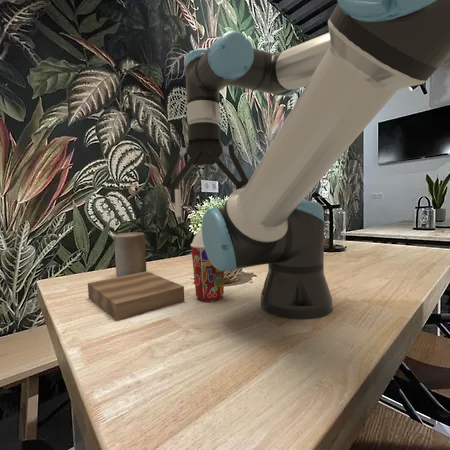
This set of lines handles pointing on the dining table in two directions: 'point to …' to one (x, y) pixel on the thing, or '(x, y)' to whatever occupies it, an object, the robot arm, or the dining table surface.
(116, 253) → the pillar candle
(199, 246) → the smoothie
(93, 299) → the walnut shelf board
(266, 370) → the dining table surface
